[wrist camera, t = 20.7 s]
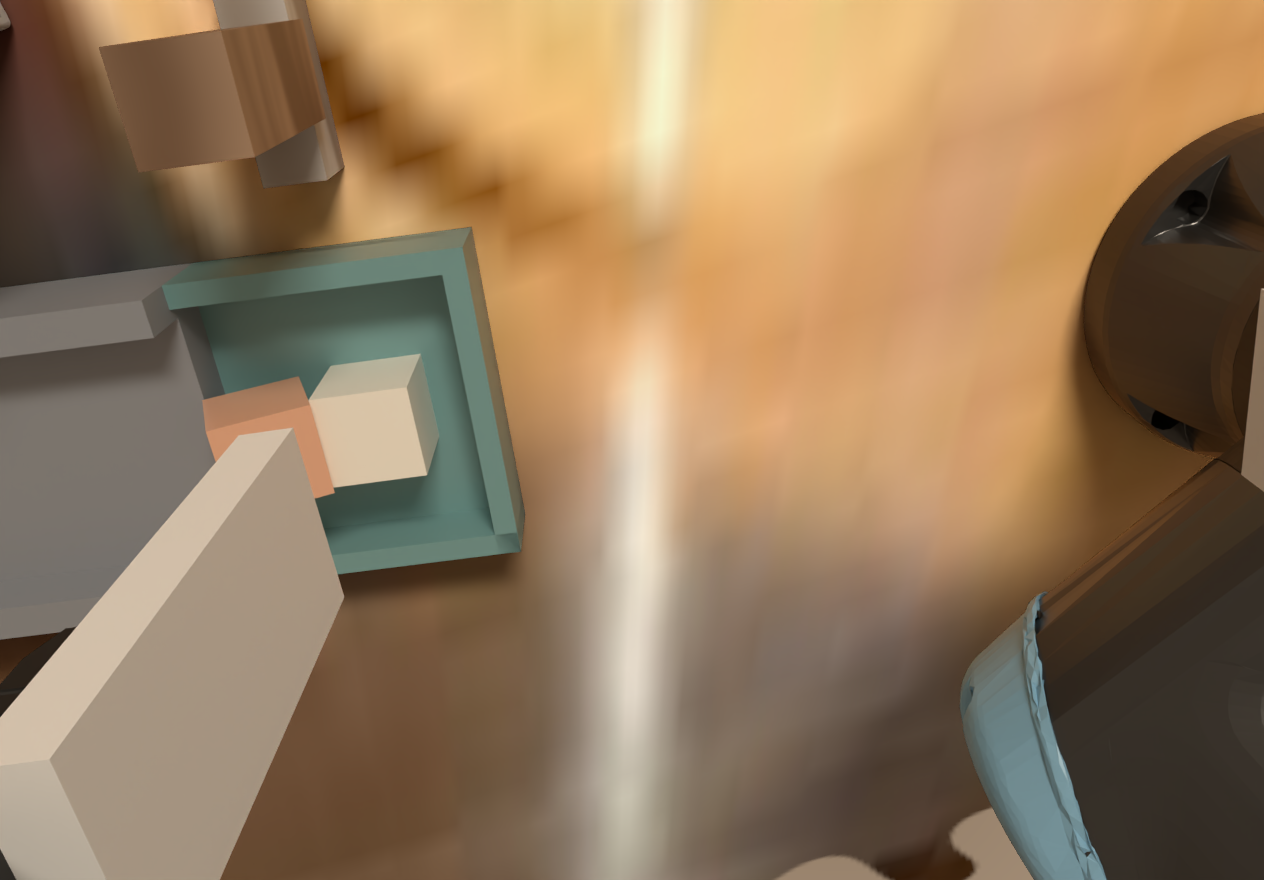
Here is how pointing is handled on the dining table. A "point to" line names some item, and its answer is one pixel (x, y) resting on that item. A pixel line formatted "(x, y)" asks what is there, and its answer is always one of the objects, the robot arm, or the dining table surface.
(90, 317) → the slot board
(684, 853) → the dining table surface
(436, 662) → the dining table surface
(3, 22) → the coffee box
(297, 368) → the chute tray
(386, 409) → the cream cube
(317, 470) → the peach cube block
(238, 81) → the brown block with tab
